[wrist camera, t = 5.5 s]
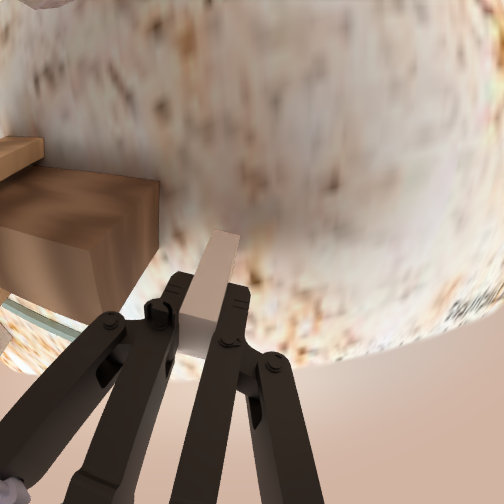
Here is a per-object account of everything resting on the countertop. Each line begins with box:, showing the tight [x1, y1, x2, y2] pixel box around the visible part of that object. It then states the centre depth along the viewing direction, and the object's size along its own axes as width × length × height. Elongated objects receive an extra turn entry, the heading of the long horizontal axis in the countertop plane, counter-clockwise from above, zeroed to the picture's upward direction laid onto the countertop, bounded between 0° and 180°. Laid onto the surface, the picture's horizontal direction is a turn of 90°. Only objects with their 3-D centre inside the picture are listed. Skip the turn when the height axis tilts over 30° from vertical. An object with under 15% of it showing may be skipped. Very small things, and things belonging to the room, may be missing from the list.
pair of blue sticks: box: [2, 298, 81, 342], centre depth 25 cm, size 18×9×1 cm, turn 78°
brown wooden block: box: [0, 166, 160, 325], centre depth 15 cm, size 16×5×8 cm, turn 80°
